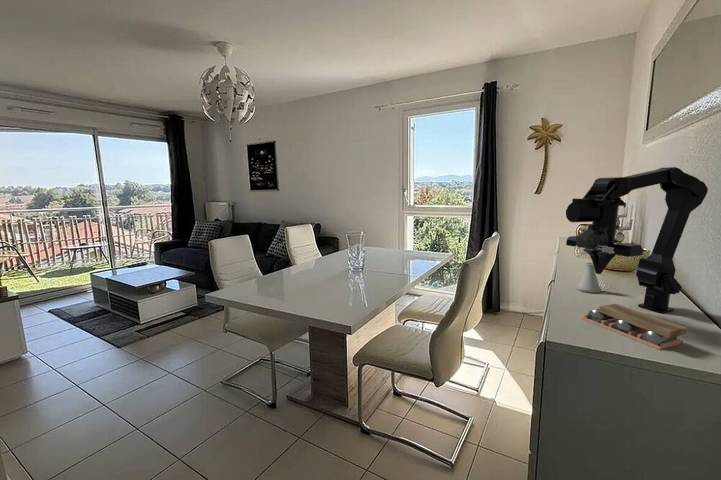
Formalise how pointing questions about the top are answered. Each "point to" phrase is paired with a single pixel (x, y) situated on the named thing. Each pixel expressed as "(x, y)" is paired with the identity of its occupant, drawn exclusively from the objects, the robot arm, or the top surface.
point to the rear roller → (598, 315)
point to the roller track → (633, 333)
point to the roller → (655, 338)
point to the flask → (589, 280)
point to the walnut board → (644, 320)
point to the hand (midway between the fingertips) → (598, 273)
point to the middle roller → (624, 326)
